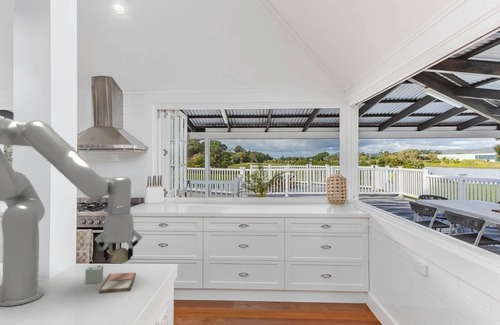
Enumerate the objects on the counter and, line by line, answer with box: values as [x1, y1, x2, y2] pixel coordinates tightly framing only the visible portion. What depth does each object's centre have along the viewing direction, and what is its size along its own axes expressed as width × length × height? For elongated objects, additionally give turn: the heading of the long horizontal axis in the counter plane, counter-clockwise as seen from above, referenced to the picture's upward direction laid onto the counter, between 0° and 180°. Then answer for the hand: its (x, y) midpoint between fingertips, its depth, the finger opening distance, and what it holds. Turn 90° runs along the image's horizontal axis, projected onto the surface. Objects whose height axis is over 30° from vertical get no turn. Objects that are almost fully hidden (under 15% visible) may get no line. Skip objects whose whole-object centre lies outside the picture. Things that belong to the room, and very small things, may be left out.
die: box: [84, 264, 104, 285], centre depth 117 cm, size 5×5×5 cm
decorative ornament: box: [107, 247, 129, 265], centre depth 113 cm, size 4×8×5 cm, turn 127°
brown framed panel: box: [98, 272, 137, 294], centre depth 115 cm, size 10×16×1 cm, turn 14°
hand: (118, 258), depth 113 cm, fingers closed on decorative ornament, 7 cm apart
